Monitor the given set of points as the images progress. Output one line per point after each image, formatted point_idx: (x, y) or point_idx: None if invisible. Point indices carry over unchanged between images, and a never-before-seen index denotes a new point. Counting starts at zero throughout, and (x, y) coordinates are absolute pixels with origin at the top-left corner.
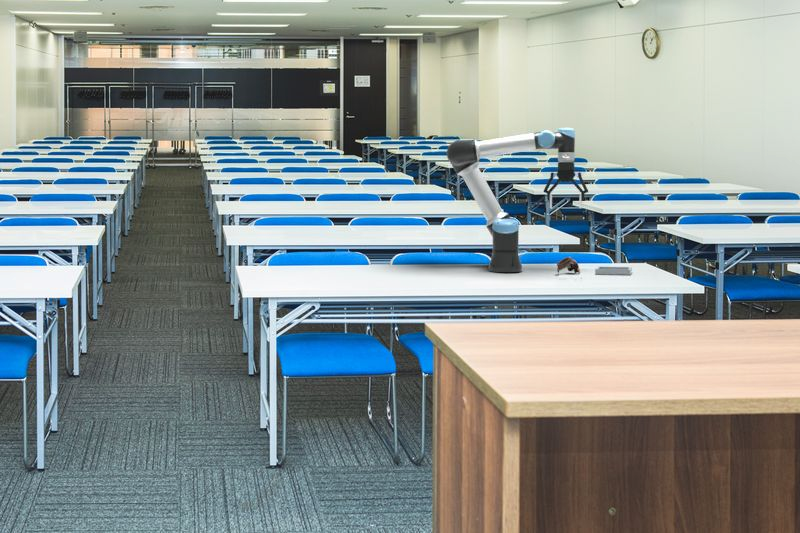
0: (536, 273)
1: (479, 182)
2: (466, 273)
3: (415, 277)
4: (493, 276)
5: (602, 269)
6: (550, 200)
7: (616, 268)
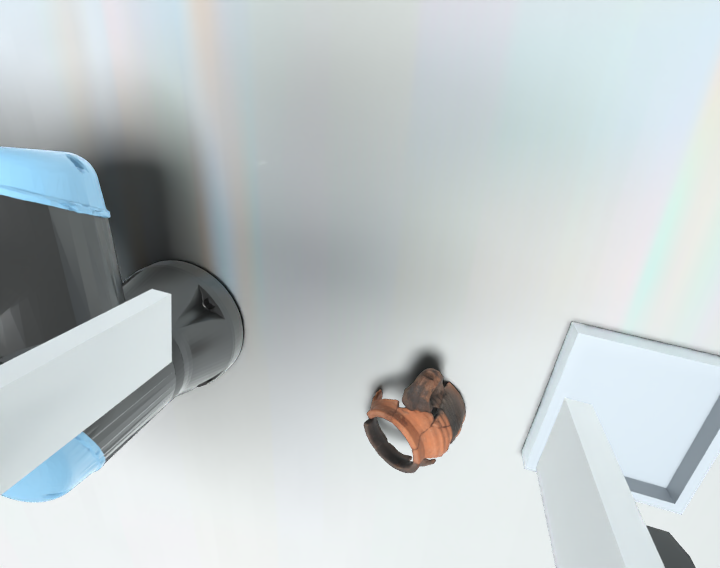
0: (298, 377)
1: None
2: None
3: None
4: (178, 474)
5: None
6: (81, 417)
7: (670, 363)
